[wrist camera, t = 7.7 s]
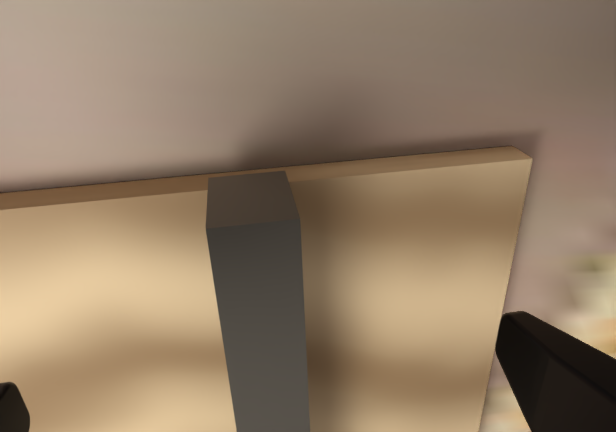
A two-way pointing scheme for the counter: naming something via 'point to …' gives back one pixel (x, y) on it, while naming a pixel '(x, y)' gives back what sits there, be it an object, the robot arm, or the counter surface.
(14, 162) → the counter surface
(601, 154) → the counter surface
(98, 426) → the mounting board
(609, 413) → the robot arm
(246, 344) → the grey and white bar
